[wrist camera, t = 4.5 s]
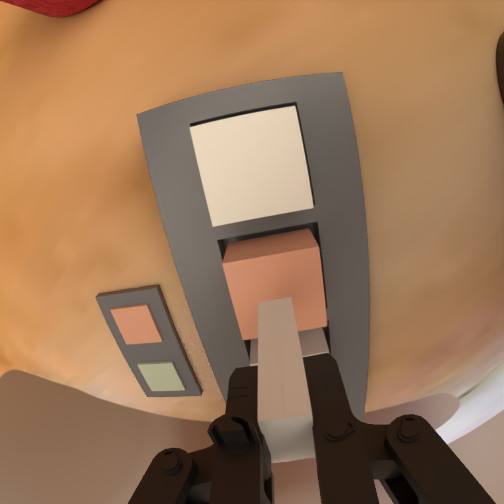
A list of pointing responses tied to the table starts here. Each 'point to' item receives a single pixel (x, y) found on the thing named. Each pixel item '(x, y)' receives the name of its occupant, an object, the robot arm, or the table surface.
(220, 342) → the keypad
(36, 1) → the wine bottle
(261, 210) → the key ivory
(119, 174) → the table surface
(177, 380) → the placard
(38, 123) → the table surface
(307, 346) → the key beige
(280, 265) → the key terracotta
